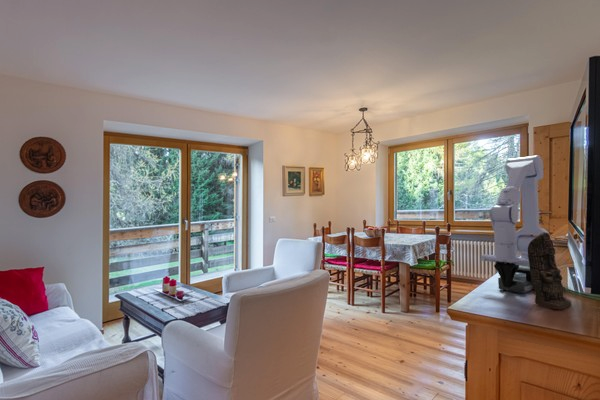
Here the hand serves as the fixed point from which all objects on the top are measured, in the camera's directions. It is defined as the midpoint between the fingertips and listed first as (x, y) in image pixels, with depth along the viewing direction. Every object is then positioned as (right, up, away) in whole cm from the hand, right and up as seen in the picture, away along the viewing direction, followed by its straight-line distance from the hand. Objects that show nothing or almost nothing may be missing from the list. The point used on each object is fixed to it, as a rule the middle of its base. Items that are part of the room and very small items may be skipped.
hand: (507, 286), depth 98 cm
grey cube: (+6, -1, +4) cm, 7 cm away
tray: (+6, -1, +4) cm, 7 cm away
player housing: (+12, -1, +7) cm, 14 cm away
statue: (+4, -2, -12) cm, 13 cm away
